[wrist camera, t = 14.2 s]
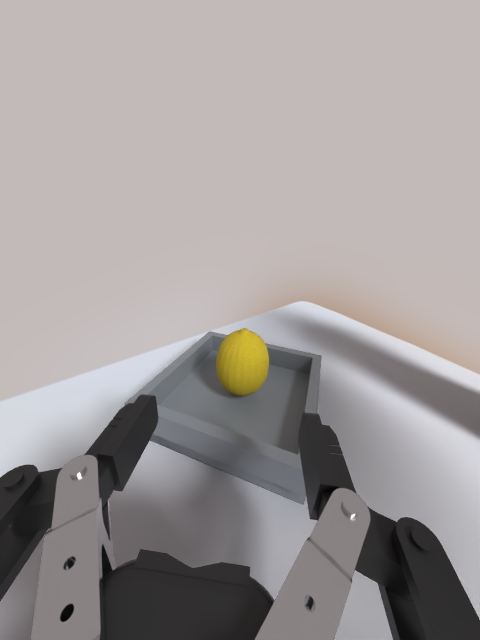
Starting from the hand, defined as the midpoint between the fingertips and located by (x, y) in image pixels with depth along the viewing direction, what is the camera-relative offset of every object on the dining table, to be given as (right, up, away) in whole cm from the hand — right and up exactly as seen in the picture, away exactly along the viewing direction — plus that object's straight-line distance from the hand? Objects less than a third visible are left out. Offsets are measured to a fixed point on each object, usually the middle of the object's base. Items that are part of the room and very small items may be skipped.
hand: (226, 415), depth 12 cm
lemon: (+1, -3, +13) cm, 14 cm away
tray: (+1, -4, +14) cm, 14 cm away
